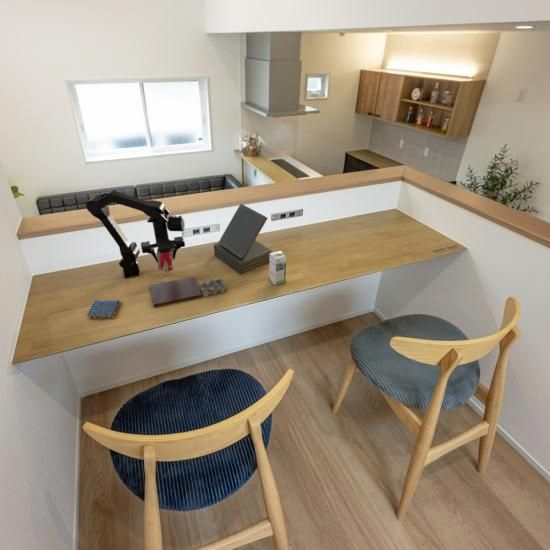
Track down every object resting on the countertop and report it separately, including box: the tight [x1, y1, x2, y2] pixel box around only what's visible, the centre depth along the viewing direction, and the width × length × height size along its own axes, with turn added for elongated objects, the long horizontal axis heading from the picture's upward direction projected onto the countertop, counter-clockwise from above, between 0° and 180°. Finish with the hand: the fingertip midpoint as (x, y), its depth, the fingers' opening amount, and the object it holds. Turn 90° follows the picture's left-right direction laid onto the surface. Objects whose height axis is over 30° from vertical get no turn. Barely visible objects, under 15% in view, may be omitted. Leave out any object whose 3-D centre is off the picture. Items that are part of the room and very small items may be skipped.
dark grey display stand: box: [213, 203, 272, 275], centre depth 180 cm, size 23×20×25 cm
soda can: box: [156, 247, 175, 273], centre depth 168 cm, size 7×7×12 cm
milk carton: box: [269, 250, 287, 286], centre depth 166 cm, size 6×6×14 cm
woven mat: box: [86, 299, 121, 320], centre depth 149 cm, size 10×11×2 cm
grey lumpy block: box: [199, 277, 227, 297], centre depth 162 cm, size 11×8×4 cm
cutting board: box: [149, 276, 202, 308], centre depth 160 cm, size 20×15×2 cm
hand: (165, 260), depth 169 cm, fingers closed on soda can, 7 cm apart
